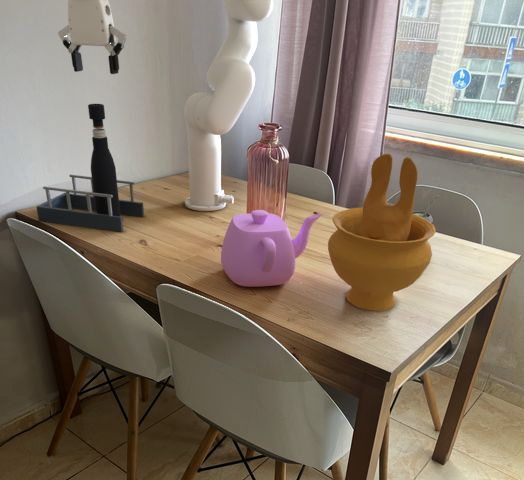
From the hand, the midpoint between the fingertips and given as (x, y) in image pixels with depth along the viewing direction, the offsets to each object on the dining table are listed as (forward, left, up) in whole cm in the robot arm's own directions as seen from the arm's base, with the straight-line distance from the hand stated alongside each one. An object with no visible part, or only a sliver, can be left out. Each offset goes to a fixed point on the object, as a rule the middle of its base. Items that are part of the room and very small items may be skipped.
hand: (96, 72), depth 135 cm
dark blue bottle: (0, +2, -37) cm, 37 cm away
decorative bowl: (-75, +27, -37) cm, 88 cm away
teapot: (-49, +23, -37) cm, 66 cm away
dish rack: (+5, +2, -37) cm, 37 cm away
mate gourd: (-84, -11, -37) cm, 93 cm away
